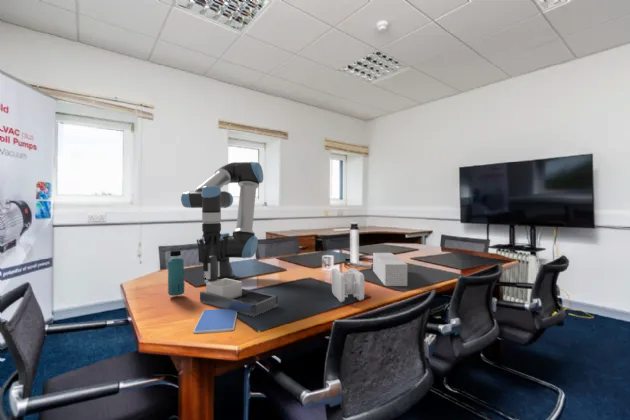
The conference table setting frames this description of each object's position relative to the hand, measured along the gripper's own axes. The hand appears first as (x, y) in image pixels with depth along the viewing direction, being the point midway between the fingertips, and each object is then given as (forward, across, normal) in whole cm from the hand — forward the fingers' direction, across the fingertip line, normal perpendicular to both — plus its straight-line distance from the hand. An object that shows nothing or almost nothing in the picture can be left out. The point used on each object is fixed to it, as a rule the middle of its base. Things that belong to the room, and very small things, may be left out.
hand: (212, 277), depth 129 cm
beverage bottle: (+9, +8, -14) cm, 18 cm away
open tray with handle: (+7, 0, +5) cm, 9 cm away
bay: (+9, 0, +16) cm, 18 cm away
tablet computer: (+9, +15, +22) cm, 28 cm away
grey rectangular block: (+9, -73, +52) cm, 90 cm away
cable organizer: (+9, -31, +48) cm, 58 cm away
